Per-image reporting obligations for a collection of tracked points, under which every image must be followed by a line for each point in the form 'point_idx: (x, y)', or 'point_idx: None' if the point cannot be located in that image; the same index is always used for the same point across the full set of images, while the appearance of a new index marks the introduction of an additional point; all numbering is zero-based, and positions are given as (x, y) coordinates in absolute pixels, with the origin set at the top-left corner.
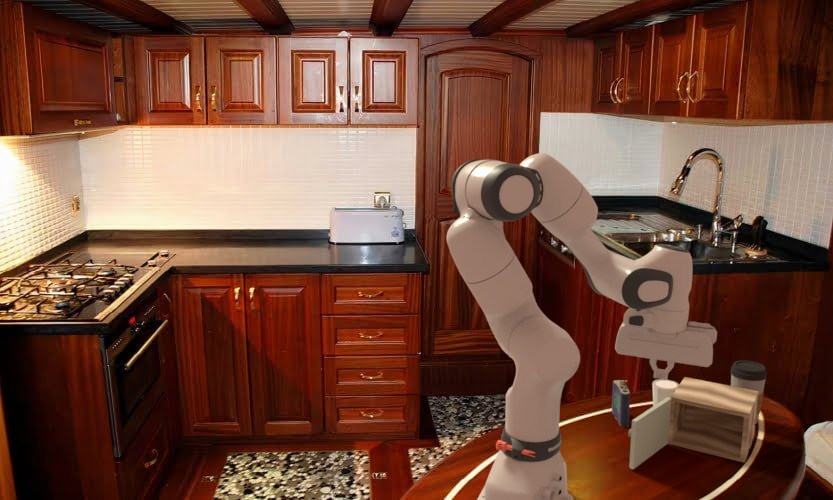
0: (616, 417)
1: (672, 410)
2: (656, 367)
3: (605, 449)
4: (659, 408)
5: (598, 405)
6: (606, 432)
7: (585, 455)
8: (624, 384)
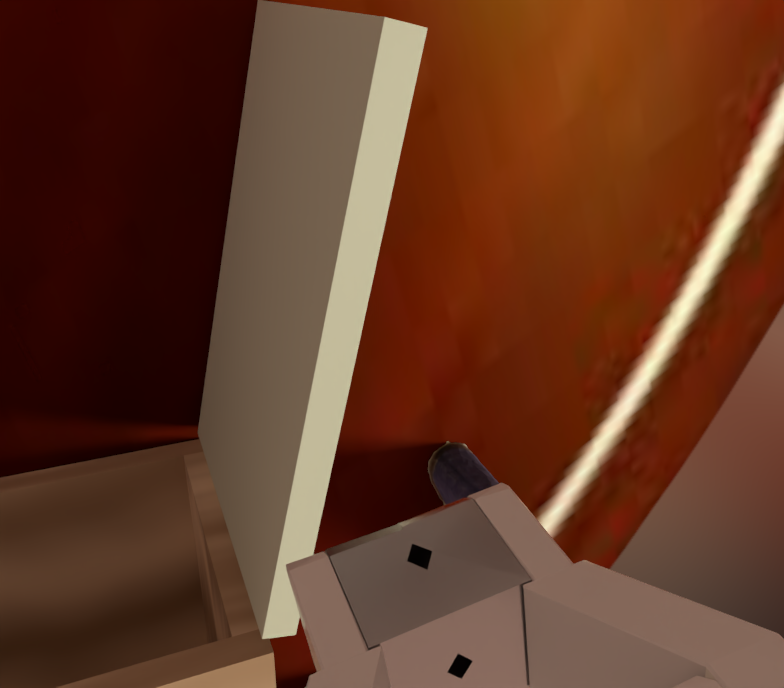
0: None
1: (231, 581)
2: (568, 670)
3: (465, 171)
4: (290, 452)
5: (585, 536)
6: (502, 343)
7: (541, 37)
8: None
